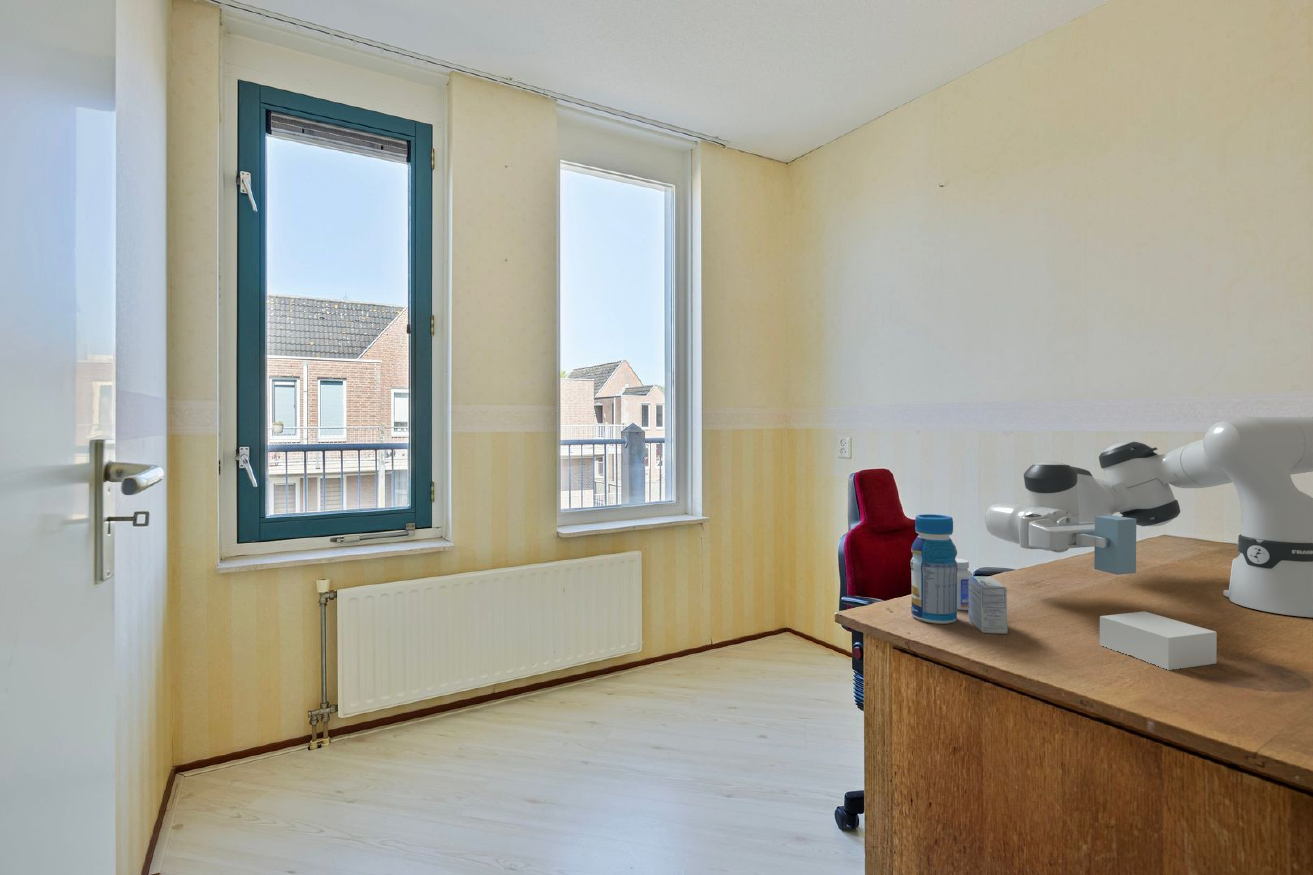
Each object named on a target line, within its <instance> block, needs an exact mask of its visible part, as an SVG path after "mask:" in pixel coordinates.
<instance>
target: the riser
mask: <svg viewBox="0 0 1313 875" xmlns="http://www.w3.org/2000/svg"><path fill="white" fill-rule="evenodd" d="M1217 637H1218V633H1217V631H1215V630H1212V629H1208V628H1204V627H1201V626H1197V625H1194V624H1190V623H1187V622H1184V621H1181V620H1177V619H1172V618H1170V617H1166V616H1162V615H1159V614H1156V613H1152V612H1148V611H1135V612H1128V613H1127V612H1126V613H1125V612H1124V613H1116V614H1110V615H1101V616H1099V646H1101V647H1103V646H1104V647H1103V648H1106V647H1107V648H1106V649H1109V650H1111V649H1112V651H1113V652H1117V651H1119V652H1121V653H1120V654H1122V653H1124V654H1123V655H1125V654H1127V655H1126V656H1128V655H1132V656H1134V657H1136V658H1138V659H1137V660H1139V659H1142V660H1144V661H1146V662H1145V663H1147V662H1148V663H1147V664H1150V663H1152V664H1155V665H1156V667H1158V666H1159V667H1158V668H1161V669H1163V668H1164V669H1163V670H1166V669H1167V670H1166V671H1172V670H1173V669H1174V670H1179V669H1180V668H1181V669H1187V668H1193V667H1201V666H1207V665H1214V664H1217V643H1218V642H1217V640H1218V639H1217ZM1119 652H1118V653H1119ZM1136 658H1135V659H1136ZM1144 661H1143V662H1144ZM1152 664H1151V665H1152ZM1155 665H1154V666H1155ZM1181 669H1180V670H1181Z"/></svg>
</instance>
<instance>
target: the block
mask: <svg viewBox="0 0 1313 875" xmlns="http://www.w3.org/2000/svg"><path fill="white" fill-rule="evenodd" d="M1095 536H1097V537H1106V538H1109V539H1110V547H1106V548H1101V547H1096V546H1095V547H1094V558H1093V559H1094V560H1093V561H1094V570H1096V571H1101V572H1104V573H1108V574H1114V575H1120V576H1121V575H1129V574H1130V575H1131V574H1137V525H1136V519H1133V518H1127V517H1121V516H1119V515H1112V516H1096V517H1095Z"/></svg>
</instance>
